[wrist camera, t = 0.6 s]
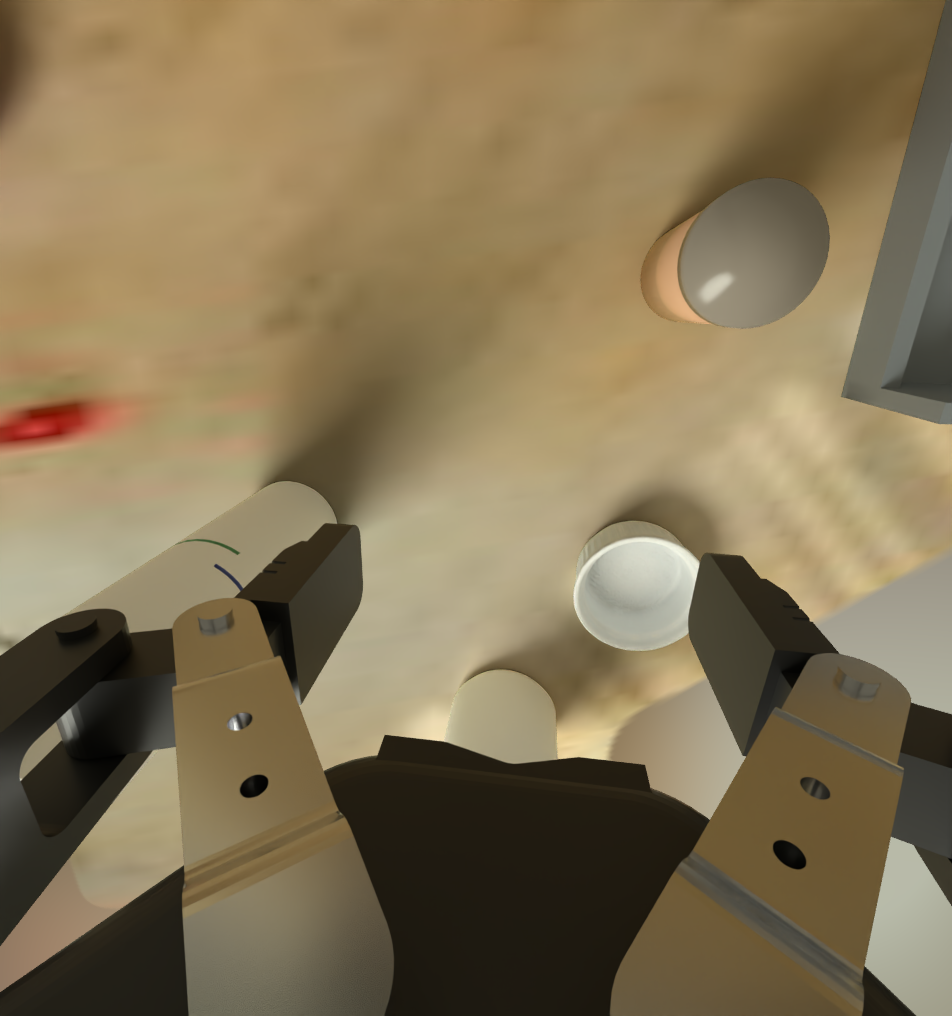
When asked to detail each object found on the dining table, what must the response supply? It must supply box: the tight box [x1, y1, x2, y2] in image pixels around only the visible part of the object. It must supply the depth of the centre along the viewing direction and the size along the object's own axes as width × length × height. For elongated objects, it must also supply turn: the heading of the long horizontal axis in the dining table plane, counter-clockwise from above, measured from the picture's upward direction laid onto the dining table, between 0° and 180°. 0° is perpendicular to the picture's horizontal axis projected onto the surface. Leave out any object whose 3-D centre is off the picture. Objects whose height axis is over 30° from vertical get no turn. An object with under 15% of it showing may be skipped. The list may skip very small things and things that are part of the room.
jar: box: [641, 178, 830, 329], centre depth 26 cm, size 6×6×11 cm
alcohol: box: [444, 669, 558, 764], centre depth 30 cm, size 9×9×30 cm
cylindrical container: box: [19, 481, 337, 802], centre depth 29 cm, size 7×7×25 cm
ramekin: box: [573, 521, 700, 651], centre depth 36 cm, size 9×9×4 cm
